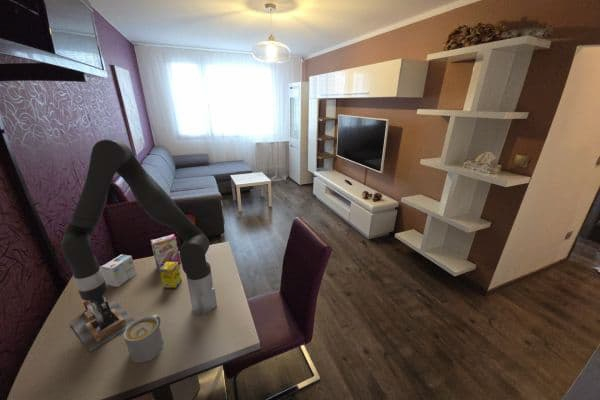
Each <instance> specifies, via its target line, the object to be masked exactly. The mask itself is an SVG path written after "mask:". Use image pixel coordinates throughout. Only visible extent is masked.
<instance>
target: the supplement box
mask: <svg viewBox="0 0 600 400" xmlns="http://www.w3.org/2000/svg"><path fill="white" fill-rule="evenodd" d="M159 273H160V276H161V277H160V278H161V281H162V286H163V289H174V290H175V289H177V288H178V286H179V284H181V282H182V275H181V270H180V264H178V262H166V263H165V264H164V265H163V266H162V267H161V268H160V271H159Z"/></svg>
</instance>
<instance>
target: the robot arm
mask: <svg viewBox="0 0 600 400" xmlns="http://www.w3.org/2000/svg"><path fill="white" fill-rule="evenodd" d="M91 149H92V150H91V154H90V159H89V165H88V171H87V174H86V178H85V182H84V185H83V188H82V191H81V193H80V197H79V199H78V200H77V203H76V205H75V208H74V210H73V213H72V216H71V219H70V222H69V223H68V225H67V227H66V228H65V232H63V233H64V234H63V236H62V238H61V239H62V240H61V245H60V249H61V253H62V255H63V257H64V259H65V260H66V262H67V263H68V266H69V268H70V270H71V273H72V276H73V278H74V283H75V286H76V288H77V291H78V294H79V296H80V298H81V300H86V301H89V303H90V305H91V306H92V307H93V308H95V309H96V311H97V313H100V315H101V318H102V319H103V322H104V324H105V325H108V324H109V323H111V322H112V319H111V315H112V312H111V310H110V307H109V301H107V298H106V296H105V294H106V293H107V291H108V286H107V285H108V284H107V281H106V278H105V275H104V272H103V270H102V269H101V267H100V264H99V261H98V259H97V257H96V256H95V255H94V252H93V249H92V245H91V237H92V234H93V232H94V229H95V227H96V226H97V225H98V224H99V222H100V220H101V217H102V215H103V212H104V210H105V208H106V204H107V199H108V193H109V188H110V185H111V182H112V180H113V177H114V176H115V175H116V173H117V174H118V175H119V176H120V177H121V178H122V179H123V181H124V182H126V184H127V185H128V187H129V189H130V191H131V192H132V195H133V197H134V198H135V200H136V202H137V203H138V205H139V206H140V208H141V209H143V210H144V212H145V213H146V214H147V215H148V216H149V217H150V218H151V219H152V220H153V221H155V222H157V223H158V224H161V225H163V226H166V227H168V228H170V229H172V230H173V231H174V232H175V233H177V235H178V236H179V237H180V239H182V240H183V243H182V244H181V246H180V248H179V249H178V251H179V256H180V262H181V267H182V271H183V273H185V275H186V276H185V277H186V281H187V287H188V291H189V297H190V301H191V308H192V311H193V313H194V314H196V315H202V316H207V315H208V314H209V313H210V312H211V311H213V310H215V308H217V307H218V304H217V303H218V301H217V296H216V289H215V288H214V284H213V276H212V270H211V265H210V263H209V262H208V261H207V258H206V254H207V251H208V250H209V248H210V240H209V238H208V237H207V236H206V234H205V233H203V231H201V229H200V228H198V227H197V225H195V224H194V223H193V222H192V221H191V219H189V217H187V215H186V214H185V213H184V212H183V211H182V210H181V209H180V207H178V205H177V204H176V202H175V201H174V200H173V198H171V196H170V195H169V194H168V193H167V192H166V191H165V190H164V188H162V186H160V185H159V183H158V182H157V181H156V180H155V179H154V178H153V177H152V176H151V175H150V174H149V173H148V172H147V171H146V170H145V169H144V167H143V165H142V164H141V162H139V160H138V159H137V158H136V156H135V154H134V153H133V151H132V150H131V149H130V147H129V146H128V145H127V144H125V142H122V141H120V140H115V139H108V138H107V139H102V140H99V141H97V142H96V143H95V144H94V145H93V146H92V148H91ZM98 308H99V309H100V310H98ZM105 312H106V313H105Z"/></svg>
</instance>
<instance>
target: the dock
mask: <svg viewBox="0 0 600 400" xmlns="http://www.w3.org/2000/svg"><path fill="white" fill-rule="evenodd" d="M108 304H109V307H110V310H111V312H112V315H111V316H112V318H113V321H114V323H113V324H111V325H109V326H108V327H106V328H104V329H103V330H101V331H100V328H99V326H98V323H97V321H96V319H95V318H94V316H93V314H92V313H91V312H90V311H88V310H86V311H85V312H84V313H83V314H84V316H82V317H80V318H79V319H77V320H75V321H72V322H71V323H70V327H72V329H73V330H74V331H75V333H76V334H77V336H78V337H79V339H80V340H81V342H82V343H83V344H84V346H85V347H86V349H87V350H88V351H89V352H93V351H94V350H96V349H97V348H99V347H100V346H102V345H104V344H105V343H107V342H108V341H110V340H111V339H113V338H114V337H116V336H118V335H119V334H121V333H124V332H125V330H126V328H127V327H128V326H129V325H130V324H131V323H132V322H134V321H135V320H136V319H134V318H133V317H132V316H131V315H130V314H129V313H128V312H127V311H126V310H125V309H124V308H123V307H122V306H120V305H119V303H118V302H117V301H116V300H112V301H110V302H108Z"/></svg>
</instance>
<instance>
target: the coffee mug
mask: <svg viewBox="0 0 600 400" xmlns="http://www.w3.org/2000/svg"><path fill="white" fill-rule="evenodd" d="M134 320H135V321H134V322H132V323H131V324H130V325H129V326H128V327H127V328H126V330H124V331H123V338H124V341H125V344H126V347H127V350H128V352H129V356H130V359H131V361H133V362H134V363H141V364H142V363H145V362H147V361H151V360H152V359H154V358H155V357H156V356H158V355H159V354H160V353H161V351H162V349H163V348H164V338H163V335H162V331H161V317H160V315H158V314H153V315H147V316H143V317H140V318H137V319H134Z"/></svg>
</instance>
